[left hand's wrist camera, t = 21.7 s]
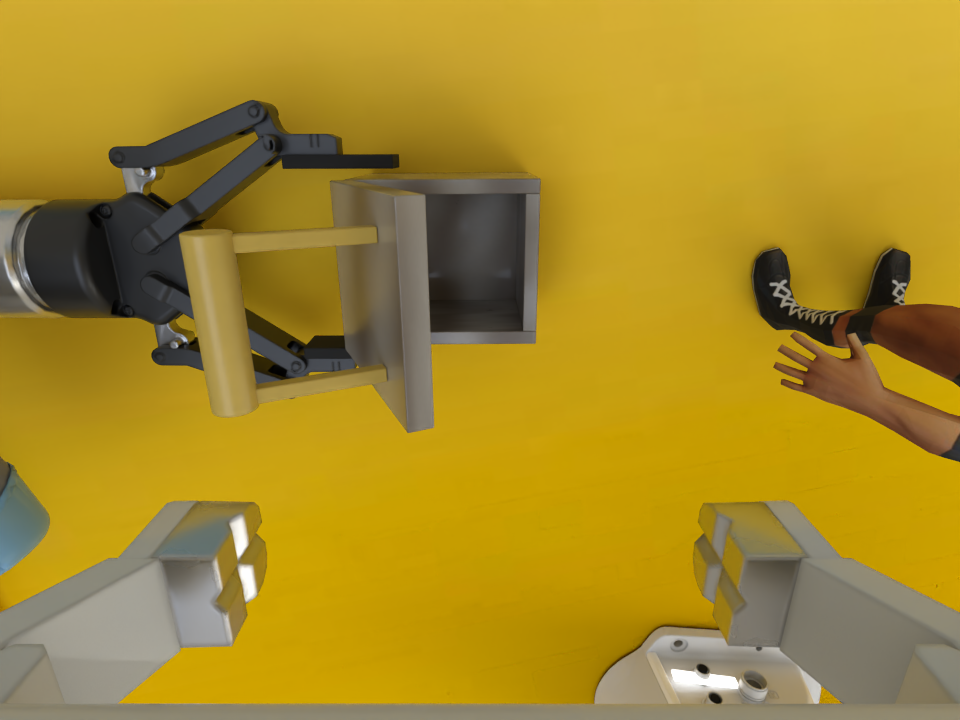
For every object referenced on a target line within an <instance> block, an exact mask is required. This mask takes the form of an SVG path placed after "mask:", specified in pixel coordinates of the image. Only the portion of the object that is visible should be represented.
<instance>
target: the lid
mask: <svg viewBox="0 0 960 720" xmlns="http://www.w3.org/2000/svg"><path fill="white" fill-rule="evenodd" d="M330 189H331V199H332V210H333V221H334V227H332V228H315V229H299V230H282V231H265V232H249V233H233V232H232V231H231V230H227V229H202V230H192V231H186V232H182V233H180V234H179V240H180V245H181V251H182V256H183V261H184V267H185V272H186V277H187V283H188V288H189V293H190V299H191V304H192V309H193V314H194V320H195V325H196V330H197V336H198V341H199V346H200V352H201V357H202V362H203V368H204V373H205V378H206V384H207V389H208V394H209V399H210V405H211V410H212V413H213V414H214V415H216V416H218V417H237V416H242V415H245V414H248V413H250V412H252V411H254V410H256V409H257V408H258V406H259V404H260V403H266V402H272V401H277V400H283V399H289V398H295V397H301V396H306V395H312V394H318V393H324V392H330V391H335V390H341V389H347V388H353V387H359V386H364V385H370V384H372V385H373V387H374V388H375V389H376V391H377V392H378V394H379V395H380V396H381V398H382V399H383V400H384V402H385V403H386V404H387V406H388V407H389V408H390V410H391V411H392V412H393V414H394V415H395V416H396V418H397V419H398V420H399V422H400V423H401V424H402V426H403V427H404V428H405V430H406V431H407V432H408V433H411V432H415V431H420V430H425V429H430V428H433V427H434V412H433V385H432V359H431V333H430V307H429V281H428V254H427V228H426V202H425V195H424V194H419V193H414V192H409V191H404V190H399V189H394V188H388V187H383V186H378V185H373V184H368V183H363V182H358V181H353V180H338V181H330ZM331 246H336V253H337V263H338V274H339V285H340V295H341V306H342V317H343V327H344V338H345V349H346V350H347V352H348V353H349V355H350V356H351V357H352V359H353V360H354V361H355V363H356V364H357V365H358V367H359V368H354V369H348V370H342V371H336V372H329V373H323V374H317V375H310V376H304V377H298V378H292V379H285V380H279V381H273V382H267V383H260V384H256V379H255V372H254V366H253V359H252V353H251V347H250V340H249V334H248V327H247V321H246V314H245V308H244V302H243V295H242V289H241V282H240V276H239V269H238V263H237V256H236V253H249V252H263V251H277V250H290V249H304V248H318V247H331Z"/></svg>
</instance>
